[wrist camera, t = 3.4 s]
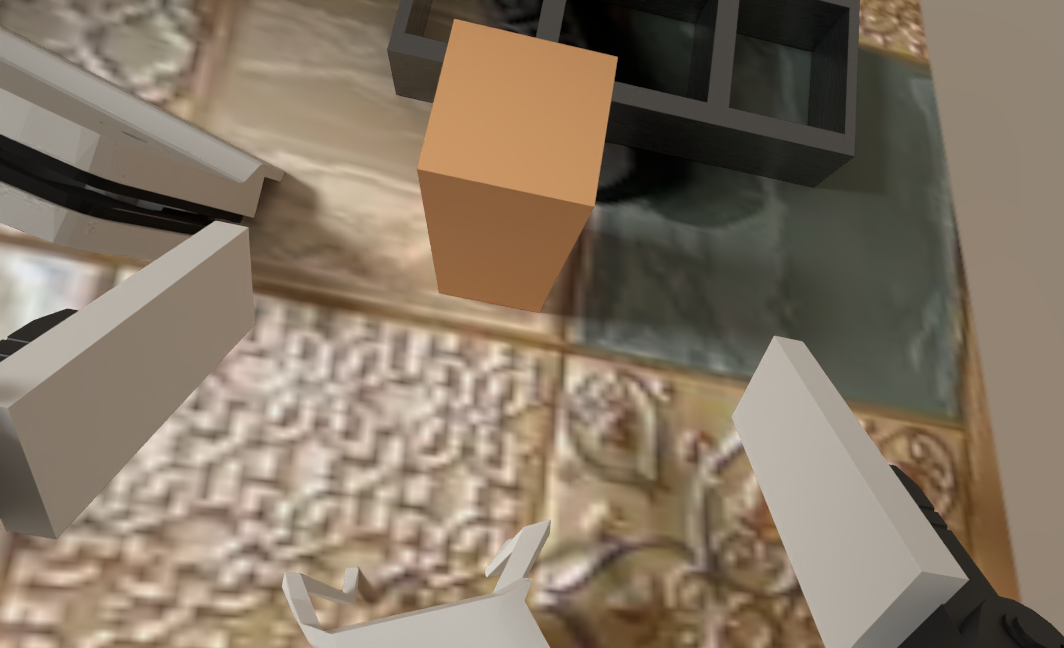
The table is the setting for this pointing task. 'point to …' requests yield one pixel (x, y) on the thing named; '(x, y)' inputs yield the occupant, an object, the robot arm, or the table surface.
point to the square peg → (511, 161)
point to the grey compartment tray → (703, 84)
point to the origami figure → (436, 608)
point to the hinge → (109, 161)
